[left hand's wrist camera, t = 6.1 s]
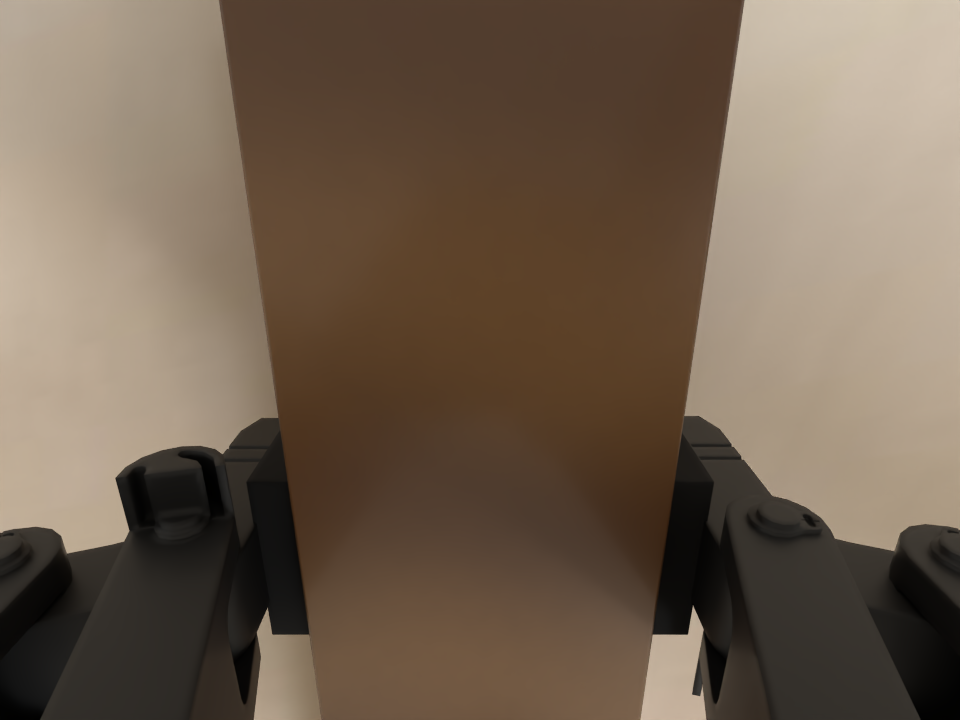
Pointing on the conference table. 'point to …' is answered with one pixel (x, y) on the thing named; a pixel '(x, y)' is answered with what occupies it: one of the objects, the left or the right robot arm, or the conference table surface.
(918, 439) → the conference table surface
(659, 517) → the post
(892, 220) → the conference table surface
